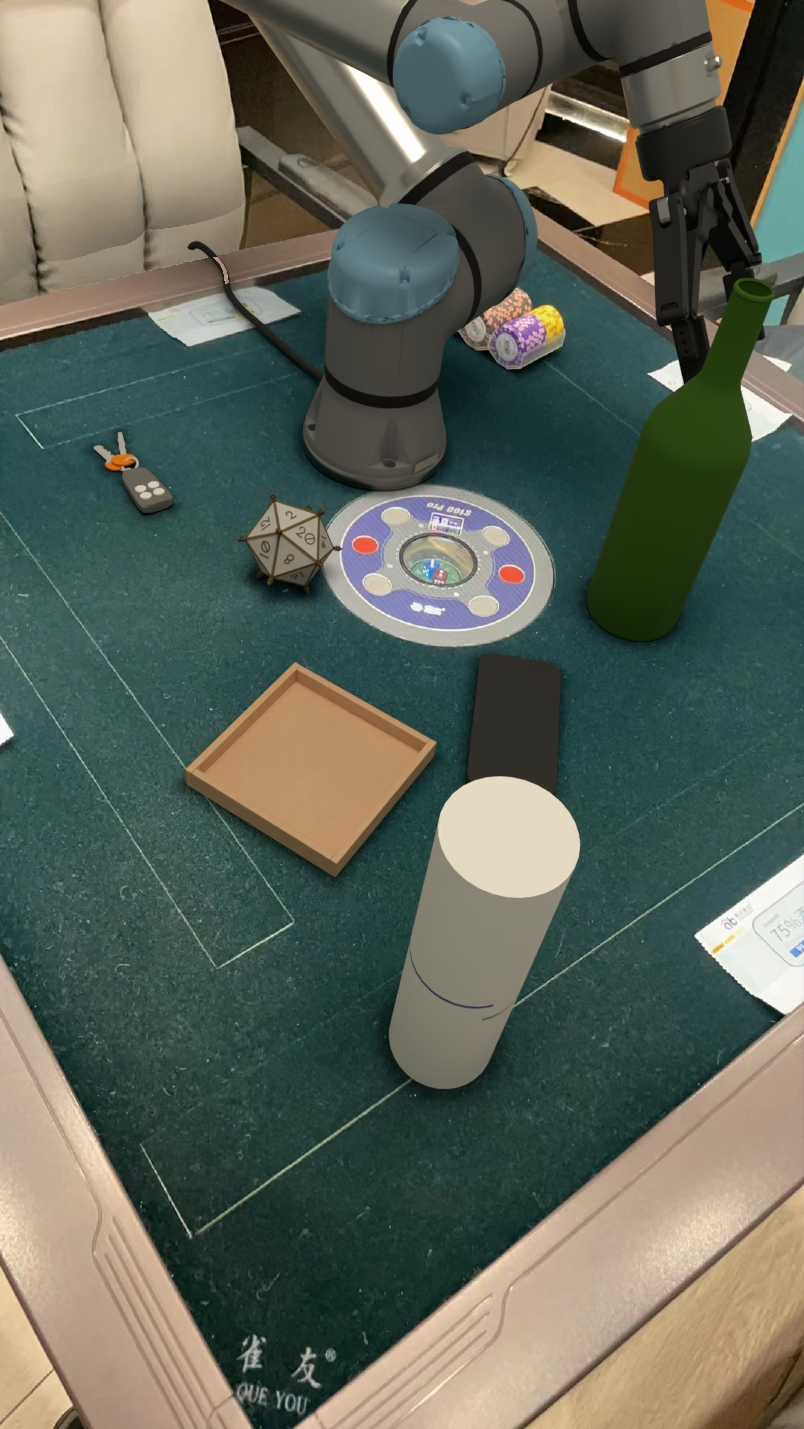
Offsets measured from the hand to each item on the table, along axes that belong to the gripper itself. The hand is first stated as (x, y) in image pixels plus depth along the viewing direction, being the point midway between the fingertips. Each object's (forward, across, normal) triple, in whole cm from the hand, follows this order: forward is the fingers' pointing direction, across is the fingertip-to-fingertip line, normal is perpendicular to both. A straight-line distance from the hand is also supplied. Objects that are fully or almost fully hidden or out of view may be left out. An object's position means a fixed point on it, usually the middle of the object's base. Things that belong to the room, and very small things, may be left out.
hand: (727, 366), depth 97 cm
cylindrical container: (+24, -62, +4) cm, 66 cm away
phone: (+17, -35, +11) cm, 40 cm away
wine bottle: (+17, -15, +8) cm, 24 cm away
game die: (+3, -32, +32) cm, 45 cm away
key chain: (-9, -30, +50) cm, 59 cm away
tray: (+12, -48, +20) cm, 54 cm away
